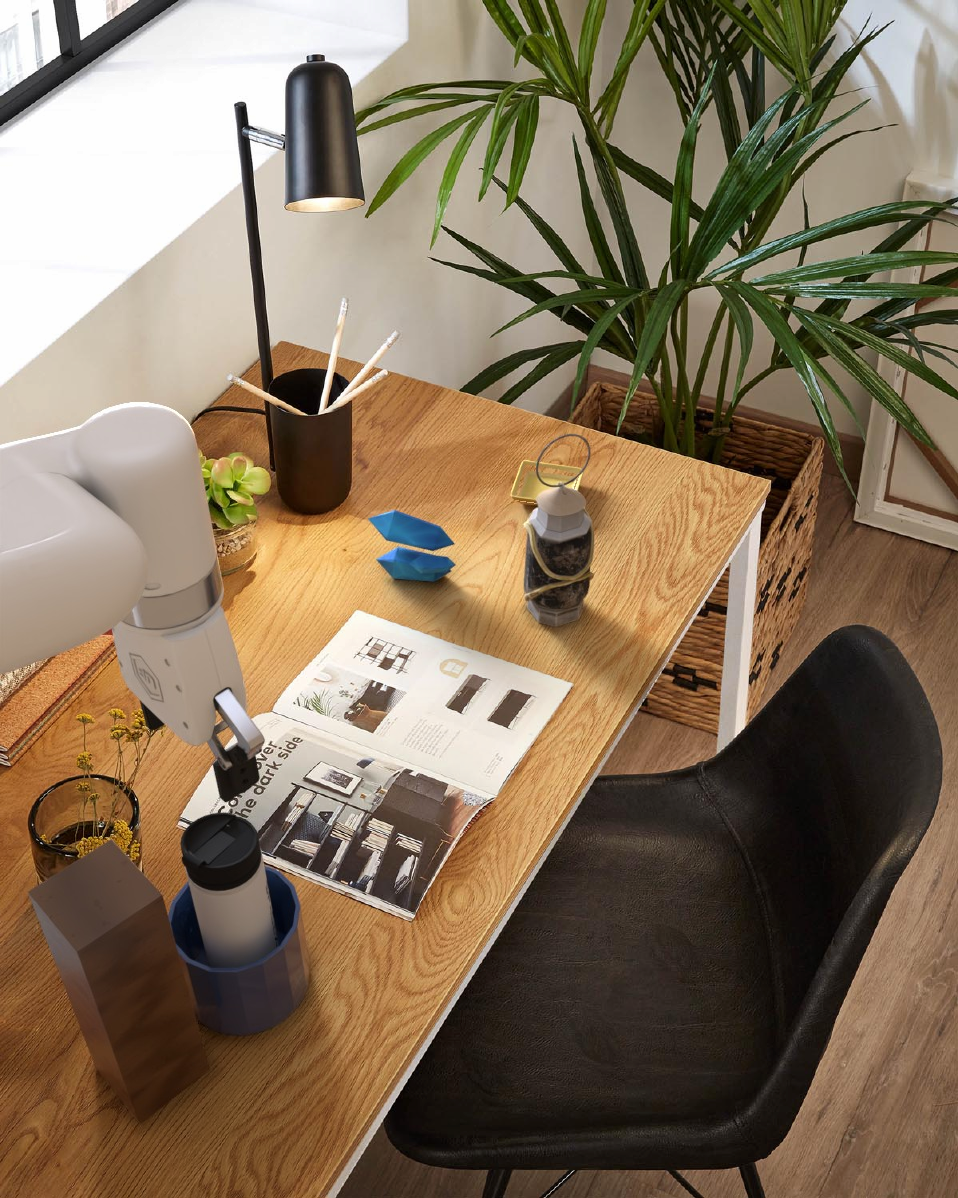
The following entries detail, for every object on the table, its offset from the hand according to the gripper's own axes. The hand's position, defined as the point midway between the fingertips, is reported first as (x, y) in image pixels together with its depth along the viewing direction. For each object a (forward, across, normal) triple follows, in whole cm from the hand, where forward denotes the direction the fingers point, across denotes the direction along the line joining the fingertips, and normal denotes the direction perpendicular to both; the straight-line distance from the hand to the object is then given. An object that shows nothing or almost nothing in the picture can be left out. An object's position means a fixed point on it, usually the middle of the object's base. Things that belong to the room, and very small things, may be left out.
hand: (202, 754), depth 96 cm
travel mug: (+30, 0, 0) cm, 30 cm away
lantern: (+31, -16, +56) cm, 66 cm away
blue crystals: (+31, -33, +48) cm, 66 cm away
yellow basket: (+31, -33, +72) cm, 85 cm away
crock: (+30, 0, 0) cm, 30 cm away
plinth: (+30, +2, -12) cm, 32 cm away
